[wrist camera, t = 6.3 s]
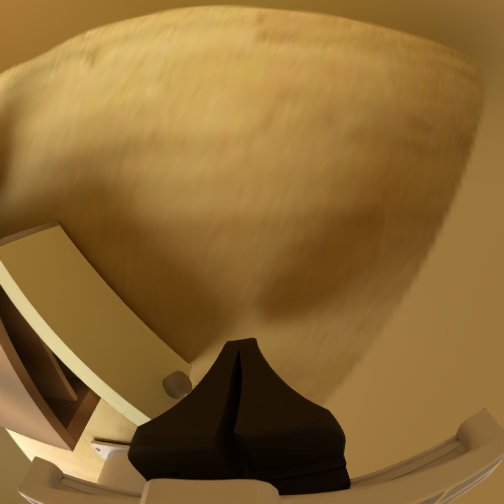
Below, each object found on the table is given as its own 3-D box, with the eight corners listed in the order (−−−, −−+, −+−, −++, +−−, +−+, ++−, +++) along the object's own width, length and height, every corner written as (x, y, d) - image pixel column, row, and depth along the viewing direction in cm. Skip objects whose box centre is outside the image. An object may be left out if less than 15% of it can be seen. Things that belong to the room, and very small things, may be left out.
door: (201, 356, 15) (187, 432, 9) (181, 371, 15) (161, 443, 10) (63, 206, 12) (-9, 224, 7) (48, 228, 12) (-20, 254, 7)
